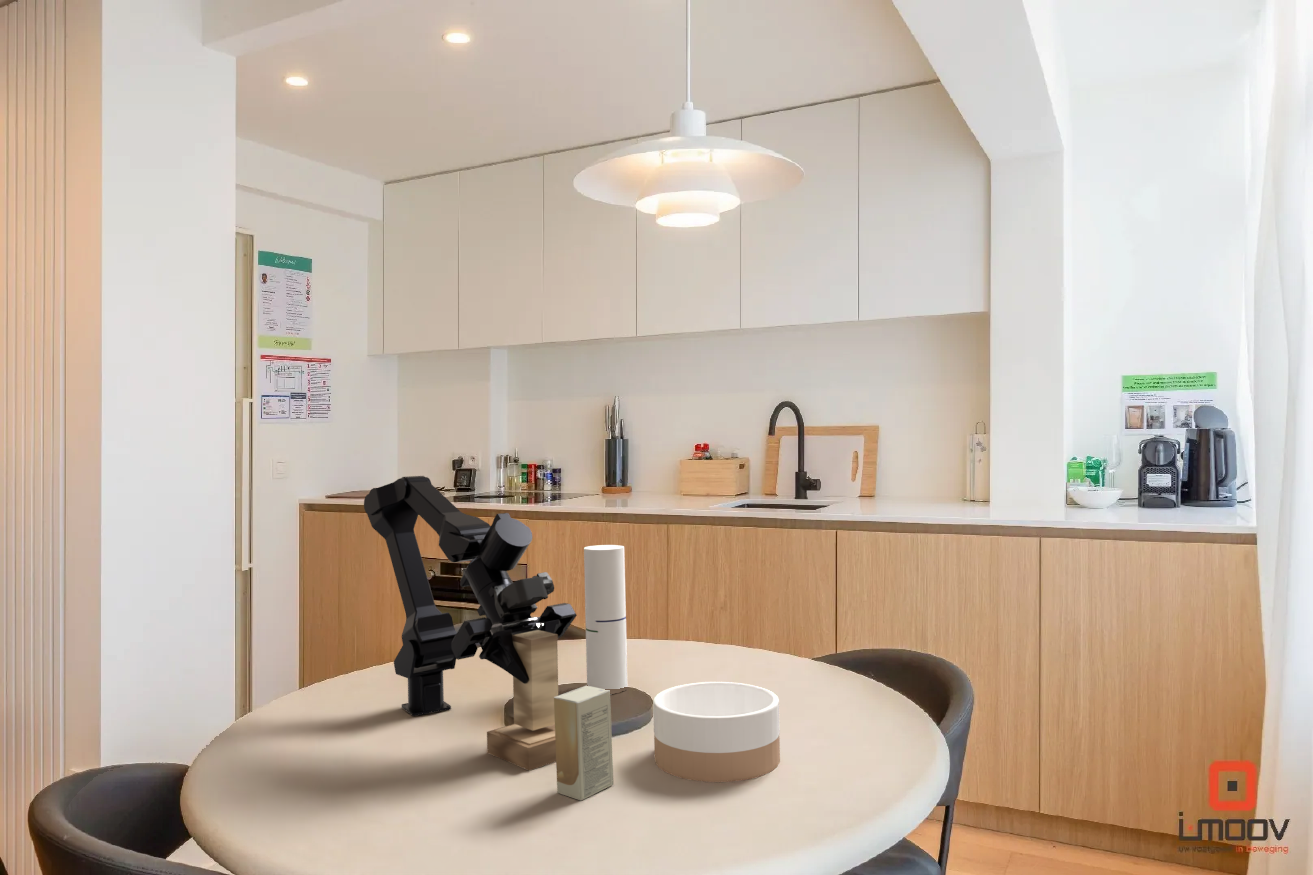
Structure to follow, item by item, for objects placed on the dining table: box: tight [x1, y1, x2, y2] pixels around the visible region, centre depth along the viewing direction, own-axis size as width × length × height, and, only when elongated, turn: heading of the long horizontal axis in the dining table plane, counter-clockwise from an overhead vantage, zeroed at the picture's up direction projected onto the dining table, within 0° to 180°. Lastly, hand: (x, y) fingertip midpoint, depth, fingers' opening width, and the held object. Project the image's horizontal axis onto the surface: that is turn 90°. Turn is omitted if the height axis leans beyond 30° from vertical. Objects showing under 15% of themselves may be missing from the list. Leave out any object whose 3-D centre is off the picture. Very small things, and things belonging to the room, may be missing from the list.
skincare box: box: [554, 685, 614, 801], centre depth 112 cm, size 6×4×12 cm
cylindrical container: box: [583, 544, 629, 689], centre depth 158 cm, size 7×7×25 cm
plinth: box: [486, 723, 556, 772], centre depth 126 cm, size 10×10×3 cm
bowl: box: [652, 681, 781, 783], centre depth 122 cm, size 17×17×8 cm
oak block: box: [512, 630, 559, 731], centre depth 126 cm, size 5×5×12 cm
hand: (541, 678), depth 125 cm, fingers closed on oak block, 4 cm apart
